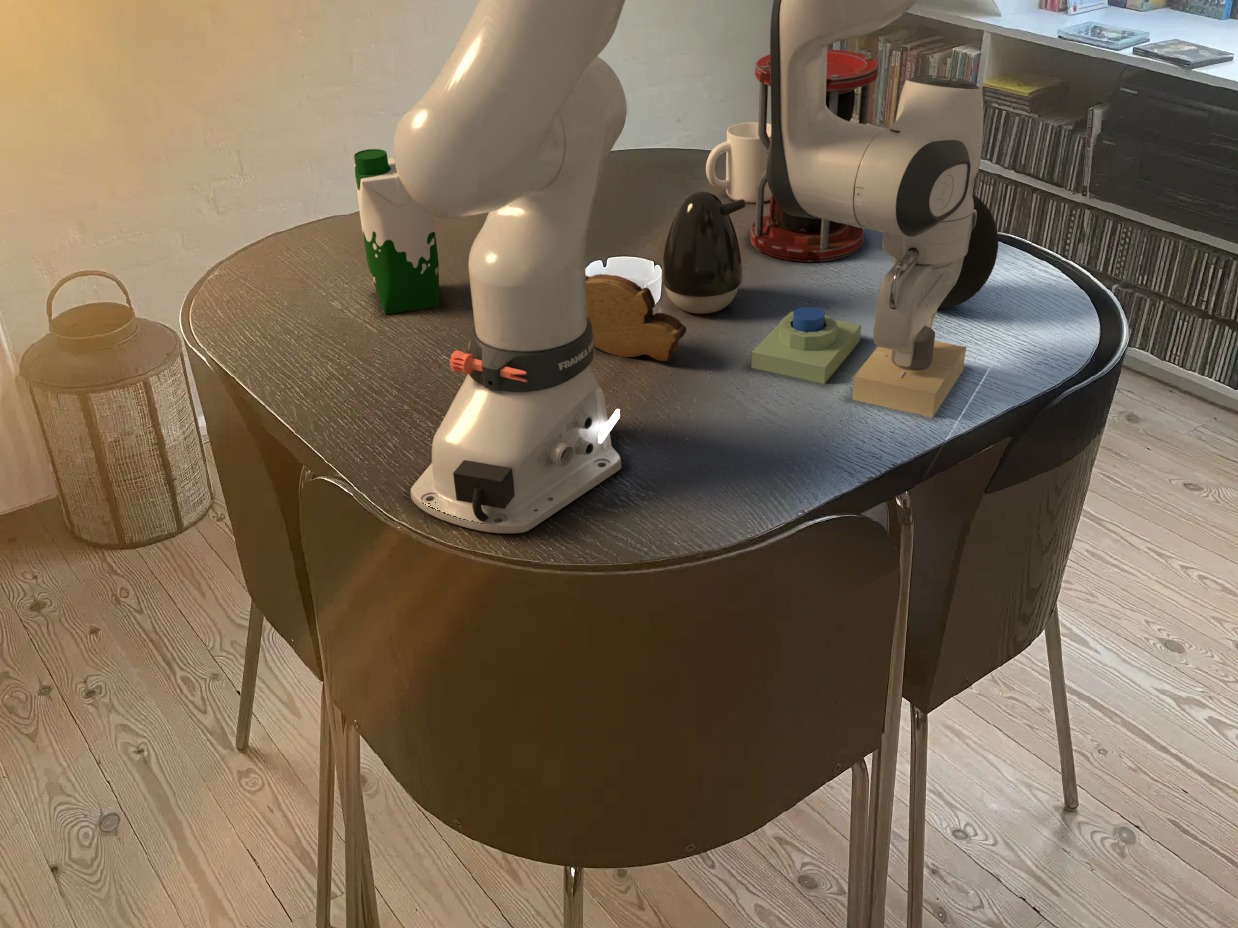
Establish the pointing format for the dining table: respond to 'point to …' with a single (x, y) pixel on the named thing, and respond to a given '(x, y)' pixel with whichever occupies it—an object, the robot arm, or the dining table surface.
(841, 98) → the hourglass
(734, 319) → the dining table surface
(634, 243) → the dining table surface
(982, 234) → the decorative egg
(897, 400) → the dial panel
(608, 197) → the dining table surface
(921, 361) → the dial
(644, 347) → the wooden carving
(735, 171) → the mug
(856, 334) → the button housing
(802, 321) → the button
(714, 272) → the pump dispenser
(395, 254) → the milk carton
